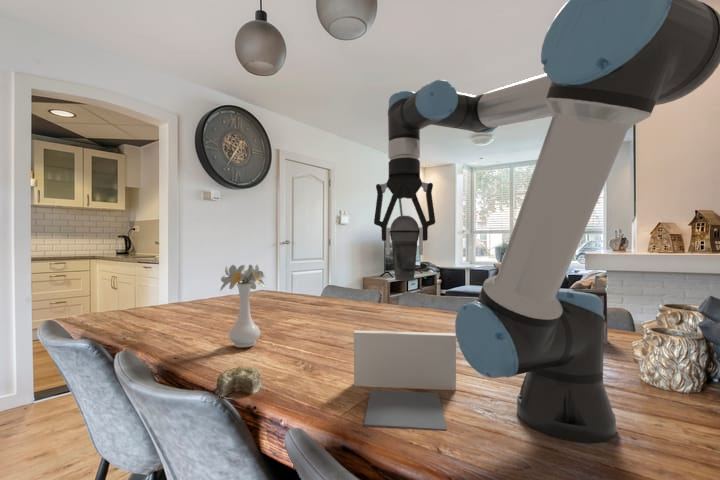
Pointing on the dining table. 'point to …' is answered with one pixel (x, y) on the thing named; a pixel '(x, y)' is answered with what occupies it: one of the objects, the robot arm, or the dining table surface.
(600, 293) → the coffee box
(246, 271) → the flower vase
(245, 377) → the cake
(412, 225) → the beverage cup
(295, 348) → the dining table surface
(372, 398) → the mat
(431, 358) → the screen
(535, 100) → the robot arm
